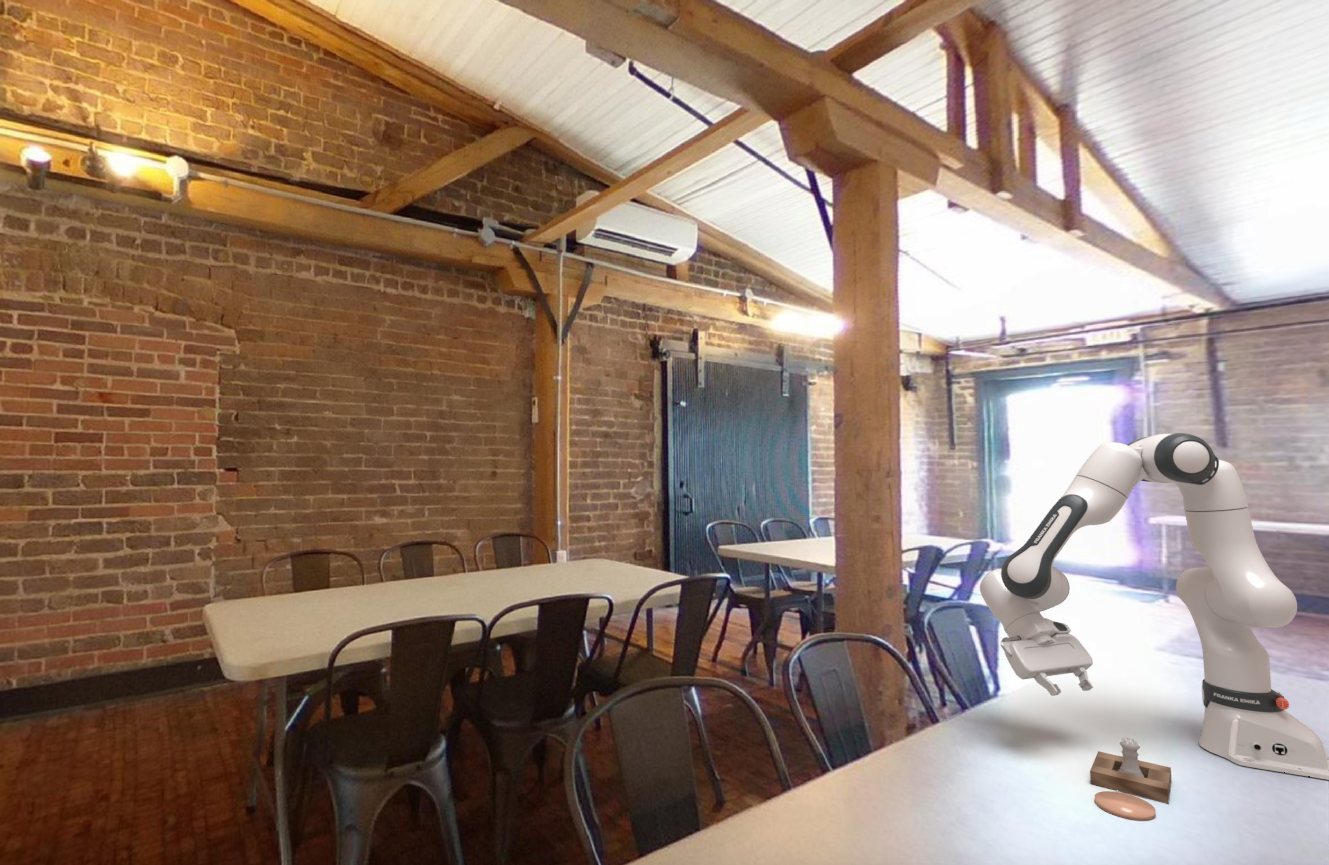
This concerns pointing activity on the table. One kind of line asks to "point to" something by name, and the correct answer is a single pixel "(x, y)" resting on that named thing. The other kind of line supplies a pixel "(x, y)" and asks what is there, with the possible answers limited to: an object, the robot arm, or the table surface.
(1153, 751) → the table surface
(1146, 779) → the socket block
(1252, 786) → the table surface
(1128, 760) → the rook chess piece
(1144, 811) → the coaster
